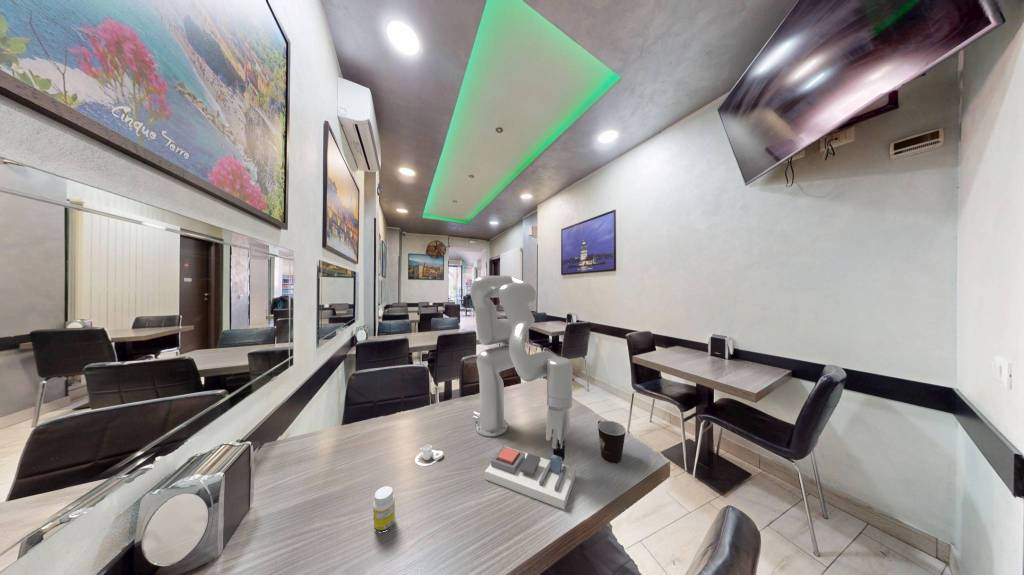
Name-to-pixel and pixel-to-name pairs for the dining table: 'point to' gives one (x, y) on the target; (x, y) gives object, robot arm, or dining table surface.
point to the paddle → (556, 464)
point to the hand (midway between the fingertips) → (559, 458)
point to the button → (508, 456)
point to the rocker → (530, 464)
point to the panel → (533, 479)
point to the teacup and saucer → (429, 455)
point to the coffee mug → (611, 440)
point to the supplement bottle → (384, 509)
